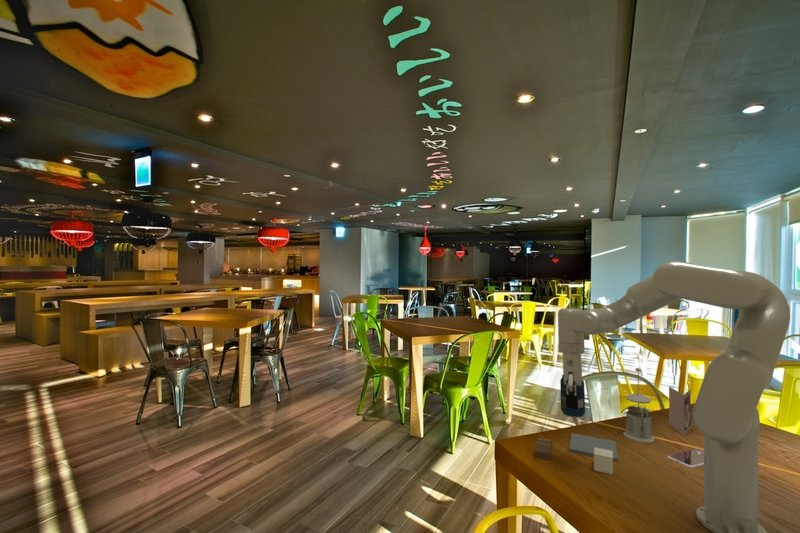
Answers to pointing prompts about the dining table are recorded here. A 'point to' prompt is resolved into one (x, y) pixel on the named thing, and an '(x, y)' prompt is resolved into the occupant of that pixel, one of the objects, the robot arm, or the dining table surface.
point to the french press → (638, 418)
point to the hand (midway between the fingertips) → (572, 403)
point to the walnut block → (544, 448)
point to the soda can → (581, 400)
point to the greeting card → (680, 410)
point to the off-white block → (603, 460)
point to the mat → (590, 445)
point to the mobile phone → (689, 458)
